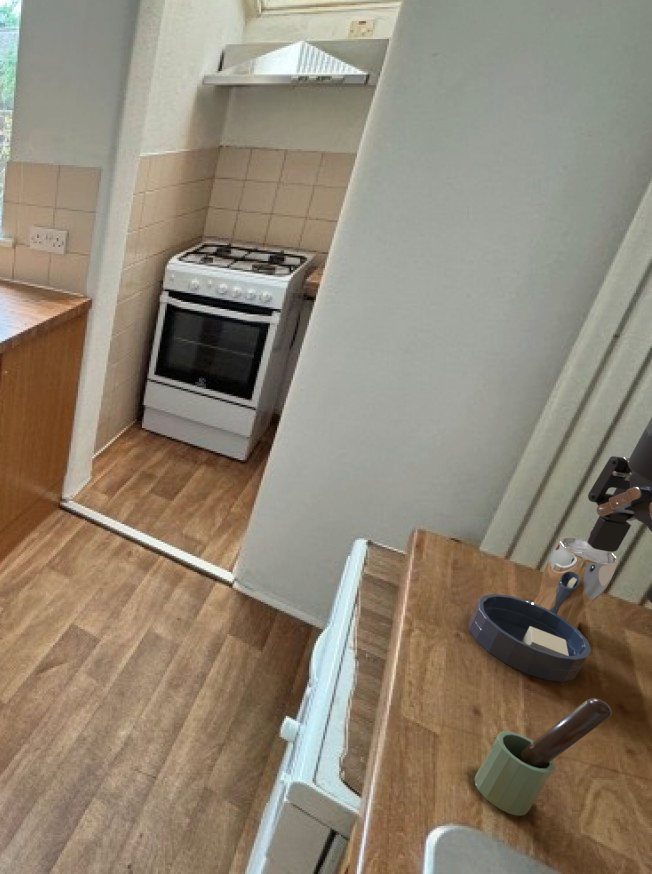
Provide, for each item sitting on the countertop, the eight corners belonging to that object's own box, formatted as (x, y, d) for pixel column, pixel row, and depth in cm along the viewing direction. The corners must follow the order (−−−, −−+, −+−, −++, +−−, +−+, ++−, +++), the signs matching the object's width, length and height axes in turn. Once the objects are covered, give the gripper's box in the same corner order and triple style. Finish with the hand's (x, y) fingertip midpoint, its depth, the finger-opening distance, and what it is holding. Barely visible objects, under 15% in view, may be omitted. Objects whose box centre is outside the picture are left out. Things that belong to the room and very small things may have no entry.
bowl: (543, 630, 100) (557, 605, 98) (596, 696, 89) (613, 669, 87) (451, 610, 104) (463, 585, 102) (491, 671, 93) (505, 645, 90)
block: (555, 658, 94) (565, 639, 92) (558, 675, 91) (569, 656, 90) (520, 644, 96) (529, 625, 95) (521, 660, 93) (532, 641, 92)
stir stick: (500, 791, 76) (615, 704, 67) (500, 803, 75) (618, 716, 66) (481, 778, 77) (591, 690, 69) (481, 789, 76) (594, 701, 67)
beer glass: (525, 597, 106) (560, 529, 101) (582, 621, 102) (621, 551, 96) (520, 617, 102) (555, 547, 97) (578, 644, 97) (620, 571, 92)
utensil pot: (512, 783, 77) (539, 738, 74) (536, 824, 73) (565, 778, 70) (465, 770, 79) (489, 725, 76) (485, 809, 74) (511, 764, 71)
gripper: (844, 491, 49) (740, 638, 55) (697, 413, 62) (625, 539, 68) (720, 474, 51) (633, 616, 57) (603, 401, 64) (541, 524, 70)
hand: (629, 574), depth 62 cm, fingers open, 8 cm apart
